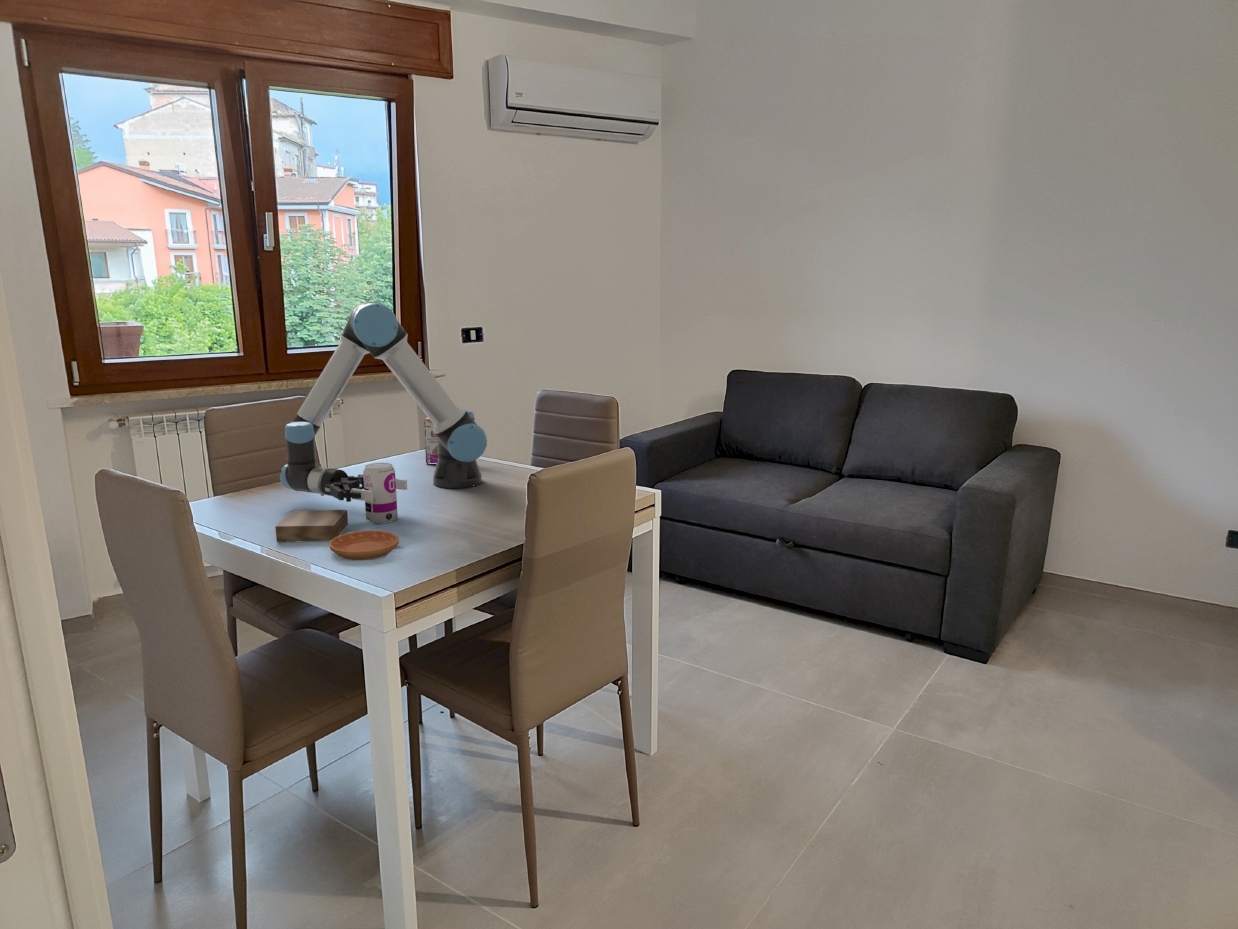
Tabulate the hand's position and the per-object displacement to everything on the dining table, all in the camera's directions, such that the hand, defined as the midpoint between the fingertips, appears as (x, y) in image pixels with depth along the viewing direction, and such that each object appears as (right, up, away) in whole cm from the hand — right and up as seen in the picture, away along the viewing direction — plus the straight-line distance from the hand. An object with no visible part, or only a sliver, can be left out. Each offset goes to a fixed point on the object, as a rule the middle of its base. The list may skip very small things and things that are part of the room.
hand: (389, 490), depth 219 cm
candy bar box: (-1, +7, +70) cm, 70 cm away
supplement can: (-3, -8, +3) cm, 9 cm away
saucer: (0, -14, -22) cm, 26 cm away
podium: (-17, -11, -9) cm, 22 cm away
